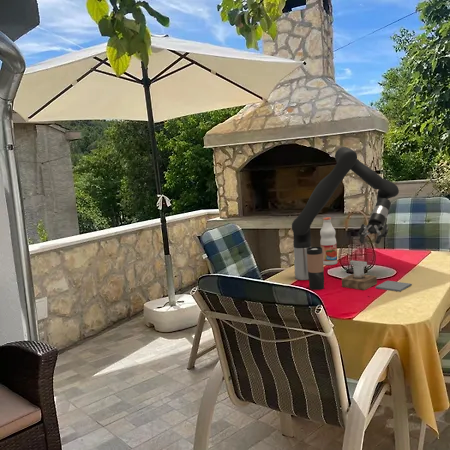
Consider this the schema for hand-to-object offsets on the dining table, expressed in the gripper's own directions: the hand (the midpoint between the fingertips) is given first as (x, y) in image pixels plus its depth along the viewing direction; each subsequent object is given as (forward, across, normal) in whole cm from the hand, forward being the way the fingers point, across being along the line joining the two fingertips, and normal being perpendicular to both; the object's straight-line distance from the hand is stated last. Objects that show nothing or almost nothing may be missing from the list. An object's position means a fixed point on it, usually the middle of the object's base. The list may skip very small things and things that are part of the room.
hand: (368, 242), depth 220 cm
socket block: (+21, 0, +6) cm, 22 cm away
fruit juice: (-2, -39, +30) cm, 49 cm away
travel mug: (+31, -16, -4) cm, 35 cm away
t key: (+21, 0, +6) cm, 22 cm away
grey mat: (+18, +14, +10) cm, 25 cm away
